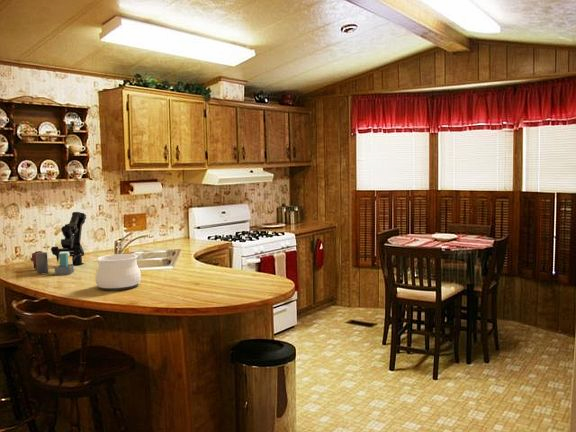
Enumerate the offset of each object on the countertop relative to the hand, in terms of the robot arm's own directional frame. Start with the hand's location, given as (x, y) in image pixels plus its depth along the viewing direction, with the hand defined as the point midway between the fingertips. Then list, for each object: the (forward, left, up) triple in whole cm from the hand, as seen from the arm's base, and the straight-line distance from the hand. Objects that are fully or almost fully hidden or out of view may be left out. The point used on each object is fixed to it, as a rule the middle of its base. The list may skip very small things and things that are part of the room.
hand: (65, 260), depth 340 cm
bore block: (+3, +1, -8) cm, 8 cm away
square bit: (+3, +1, -8) cm, 8 cm away
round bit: (+3, -15, -8) cm, 17 cm away
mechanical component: (-7, -25, -8) cm, 27 cm away
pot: (+33, +57, -8) cm, 66 cm away
